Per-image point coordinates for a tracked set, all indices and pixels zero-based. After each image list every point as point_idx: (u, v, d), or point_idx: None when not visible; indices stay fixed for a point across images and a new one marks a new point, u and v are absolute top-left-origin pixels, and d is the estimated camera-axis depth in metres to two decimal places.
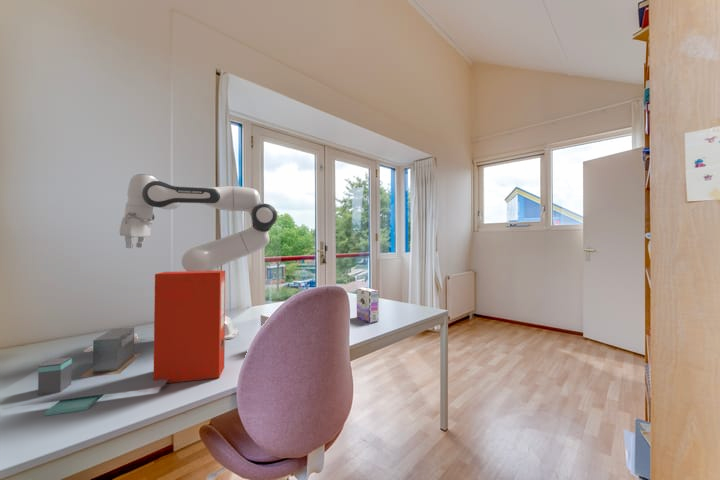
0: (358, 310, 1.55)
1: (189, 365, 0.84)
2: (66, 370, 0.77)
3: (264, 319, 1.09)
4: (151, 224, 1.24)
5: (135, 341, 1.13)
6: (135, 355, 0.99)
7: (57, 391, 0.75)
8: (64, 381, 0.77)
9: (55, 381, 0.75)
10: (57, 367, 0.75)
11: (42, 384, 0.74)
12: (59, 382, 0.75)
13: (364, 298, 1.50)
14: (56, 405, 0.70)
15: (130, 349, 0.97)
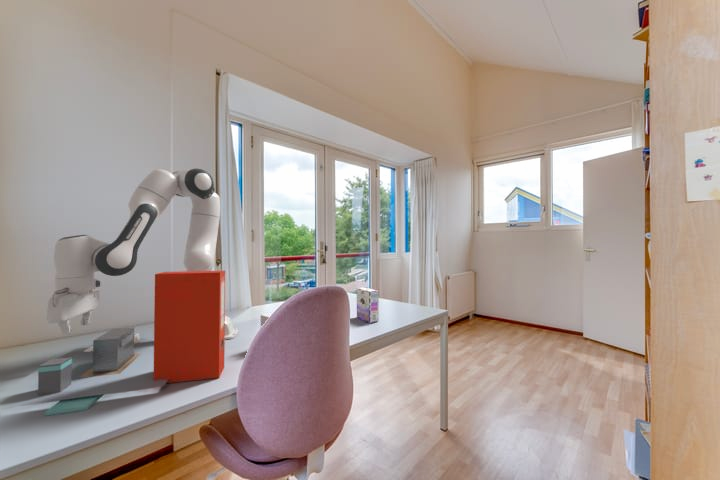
0: (358, 310, 1.55)
1: (189, 365, 0.84)
2: (66, 370, 0.77)
3: (264, 319, 1.09)
4: (97, 292, 0.99)
5: (136, 341, 1.13)
6: (135, 355, 0.99)
7: (57, 391, 0.75)
8: (64, 381, 0.77)
9: (55, 381, 0.75)
10: (57, 367, 0.75)
11: (42, 384, 0.74)
12: (59, 382, 0.75)
13: (364, 298, 1.50)
14: (56, 405, 0.70)
15: (130, 349, 0.97)
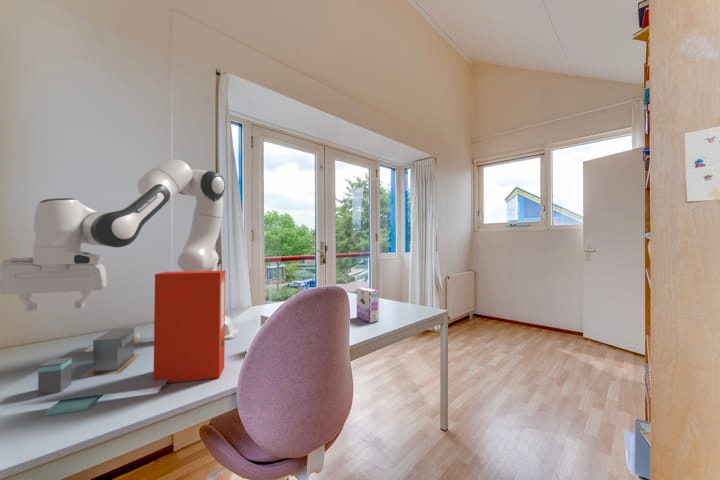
0: (358, 310, 1.55)
1: (189, 365, 0.84)
2: (66, 370, 0.77)
3: (264, 319, 1.09)
4: (92, 270, 0.78)
5: (136, 341, 1.13)
6: (135, 355, 0.99)
7: (57, 391, 0.75)
8: (64, 381, 0.77)
9: (55, 381, 0.75)
10: (57, 367, 0.75)
11: (42, 384, 0.74)
12: (59, 382, 0.75)
13: (364, 298, 1.50)
14: (56, 405, 0.70)
15: (130, 349, 0.97)
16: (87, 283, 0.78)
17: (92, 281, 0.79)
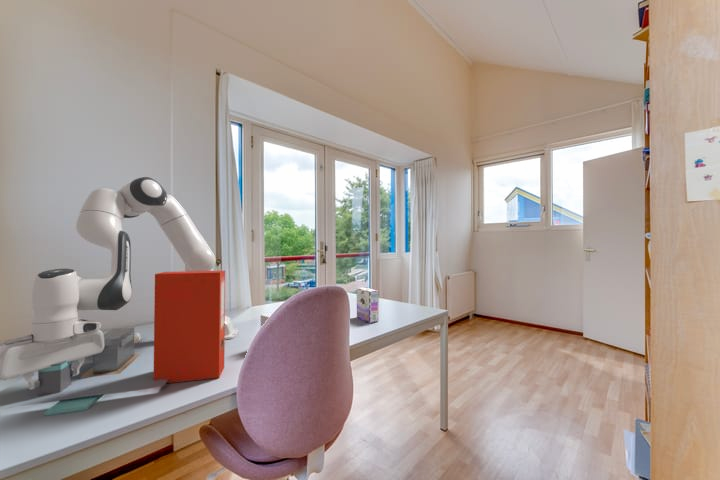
0: (358, 310, 1.55)
1: (189, 365, 0.84)
2: (66, 370, 0.77)
3: (264, 319, 1.09)
4: (96, 335, 0.83)
5: (136, 341, 1.13)
6: (135, 355, 0.99)
7: (57, 391, 0.75)
8: (64, 381, 0.77)
9: (55, 381, 0.75)
10: (57, 367, 0.75)
11: (42, 384, 0.74)
12: (59, 382, 0.75)
13: (364, 298, 1.50)
14: (56, 405, 0.70)
15: (130, 349, 0.97)
16: (90, 348, 0.82)
17: (95, 346, 0.83)
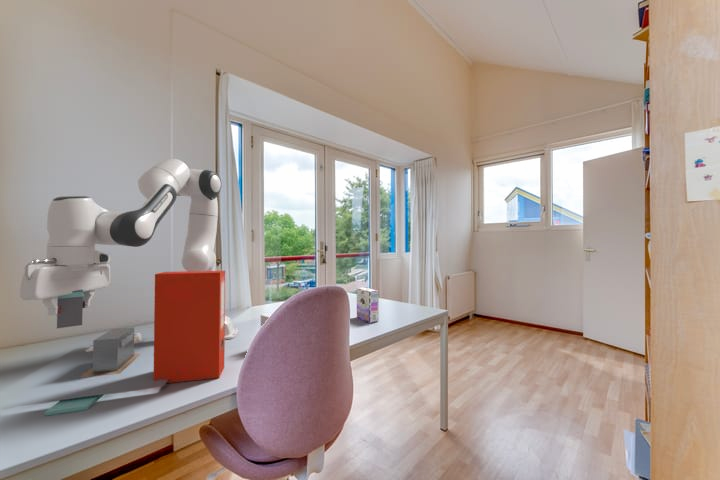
0: (358, 310, 1.55)
1: (189, 365, 0.84)
2: None
3: (264, 319, 1.09)
4: (106, 268, 0.82)
5: (137, 341, 1.13)
6: (135, 355, 0.99)
7: (79, 318, 0.73)
8: None
9: (76, 308, 0.73)
10: (79, 293, 0.73)
11: (62, 311, 0.71)
12: (80, 309, 0.74)
13: (364, 298, 1.50)
14: (56, 405, 0.70)
15: (130, 349, 0.97)
16: (100, 281, 0.81)
17: (103, 279, 0.82)
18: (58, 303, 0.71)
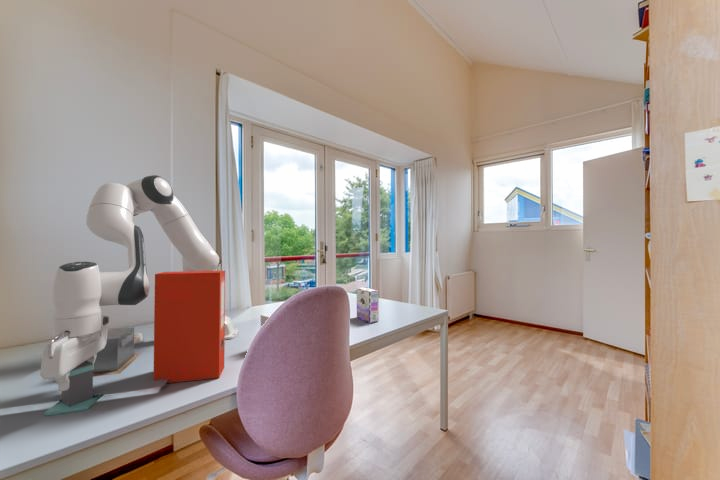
0: (358, 310, 1.55)
1: (189, 365, 0.84)
2: None
3: (264, 319, 1.09)
4: (104, 330, 0.81)
5: (138, 342, 1.13)
6: (135, 355, 0.99)
7: (89, 392, 0.73)
8: None
9: (87, 382, 0.73)
10: (89, 367, 0.73)
11: (73, 388, 0.70)
12: (91, 382, 0.73)
13: (364, 298, 1.50)
14: (56, 405, 0.70)
15: (130, 349, 0.97)
16: (100, 344, 0.80)
17: (102, 341, 0.81)
18: None
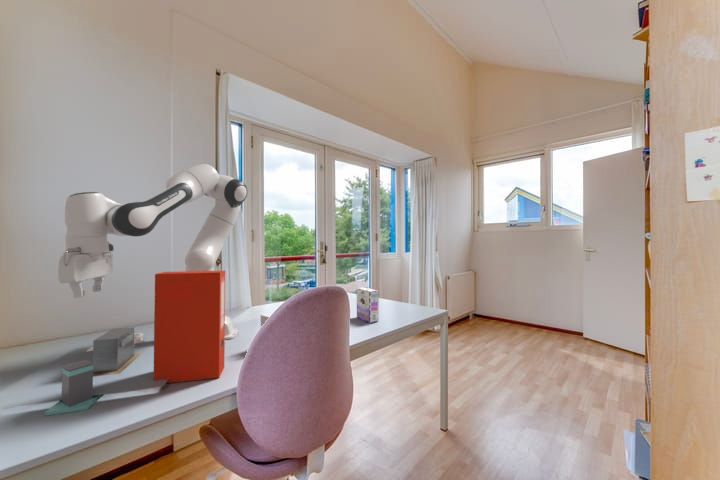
0: (358, 310, 1.55)
1: (189, 365, 0.84)
2: None
3: (264, 319, 1.09)
4: (110, 257, 0.92)
5: (138, 342, 1.13)
6: (135, 355, 0.99)
7: (89, 392, 0.73)
8: None
9: (87, 382, 0.73)
10: (89, 367, 0.73)
11: (73, 388, 0.70)
12: (91, 382, 0.73)
13: (364, 298, 1.50)
14: (56, 405, 0.70)
15: (130, 349, 0.97)
16: (107, 268, 0.91)
17: (108, 266, 0.92)
18: (70, 381, 0.70)
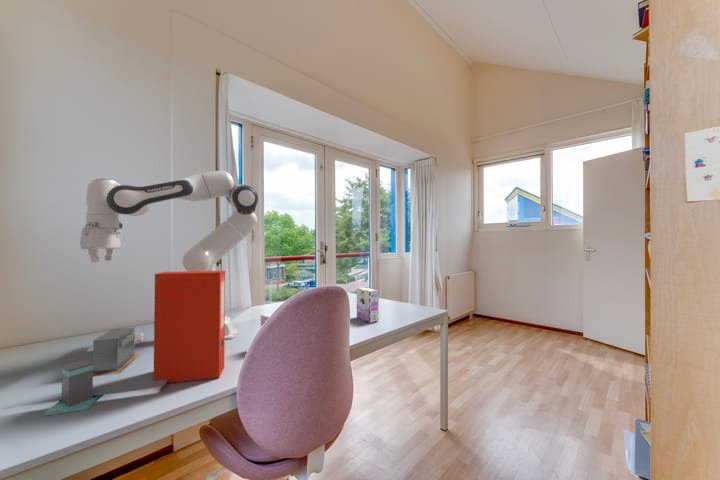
0: (358, 310, 1.55)
1: (189, 365, 0.84)
2: None
3: (264, 319, 1.09)
4: (120, 233, 1.13)
5: (138, 342, 1.12)
6: (135, 355, 0.99)
7: (89, 392, 0.73)
8: None
9: (87, 382, 0.73)
10: (89, 367, 0.73)
11: (73, 388, 0.70)
12: (91, 382, 0.73)
13: (364, 298, 1.50)
14: (56, 405, 0.70)
15: (130, 349, 0.97)
16: (117, 242, 1.11)
17: (118, 241, 1.12)
18: (70, 381, 0.70)
